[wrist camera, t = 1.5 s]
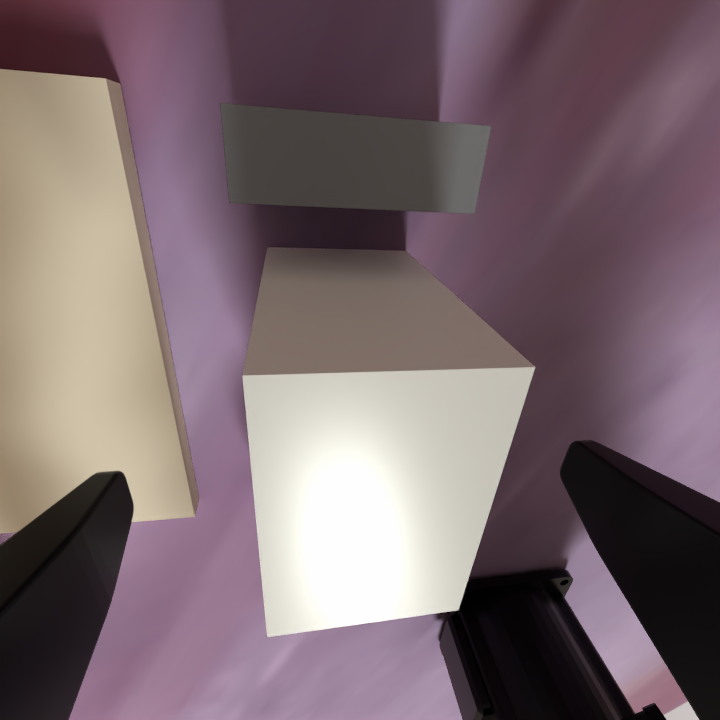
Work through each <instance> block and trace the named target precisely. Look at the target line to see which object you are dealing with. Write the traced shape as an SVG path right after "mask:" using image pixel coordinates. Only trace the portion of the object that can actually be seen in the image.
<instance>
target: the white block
mask: <svg viewBox="0 0 720 720" xmlns="http://www.w3.org/2000/svg"><path fill="white" fill-rule="evenodd" d="M534 370H535V366H534V365H533V364H531V363H530V362H529V361H528V360H527V359H526V358H525V357H524V356H523V355H521V354H520V353H519V352H518V351H517V350H516V349H515V348H514V347H513V346H511V345H510V344H509V343H508V342H507V341H506V340H505V339H504V338H502V337H501V336H500V335H499V334H498V333H497V332H496V331H495V330H494V329H492V328H491V327H490V326H489V325H488V324H487V323H486V322H485V321H484V320H482V319H481V318H480V317H479V316H478V315H477V314H476V313H475V312H474V311H472V310H471V309H470V308H469V307H468V306H467V305H466V304H465V303H464V302H462V301H461V300H460V299H459V298H458V297H457V296H456V295H455V294H454V293H452V292H451V291H450V290H449V289H448V288H447V287H446V286H445V285H444V284H442V283H441V282H440V281H439V280H438V279H437V278H436V277H435V276H434V275H432V274H431V273H430V272H429V271H428V270H427V269H426V268H425V267H424V266H422V265H421V264H420V263H419V262H418V261H417V260H416V259H415V258H414V257H412V256H411V255H410V254H409V253H408V252H407V251H397V250H358V249H319V248H280V247H267V252H266V257H265V262H264V267H263V272H262V277H261V282H260V288H259V293H258V298H257V303H256V308H255V313H254V318H253V324H252V329H251V334H250V339H249V344H248V349H247V355H246V360H245V365H244V370H243V375H242V376H243V387H244V398H245V408H246V419H247V429H248V440H249V450H250V461H251V471H252V482H253V492H254V503H255V513H256V524H257V535H258V545H259V556H260V566H261V577H262V587H263V598H264V608H265V619H266V629H267V637H272V636H279V635H287V634H294V633H301V632H308V631H315V630H322V629H329V628H336V627H343V626H350V625H358V624H365V623H372V622H379V621H386V620H393V619H400V618H407V617H414V616H421V615H429V614H436V613H443V612H450V611H457V610H459V607H460V604H461V601H462V598H463V594H464V591H465V588H466V585H467V582H468V579H469V575H470V572H471V569H472V566H473V563H474V560H475V557H476V553H477V550H478V547H479V544H480V541H481V538H482V534H483V531H484V528H485V525H486V522H487V519H488V515H489V512H490V509H491V506H492V503H493V500H494V496H495V493H496V490H497V487H498V484H499V481H500V478H501V474H502V471H503V468H504V465H505V462H506V459H507V455H508V452H509V449H510V446H511V443H512V440H513V436H514V433H515V430H516V427H517V424H518V421H519V417H520V414H521V411H522V408H523V405H524V402H525V399H526V395H527V392H528V389H529V386H530V383H531V380H532V376H533V373H534Z"/></svg>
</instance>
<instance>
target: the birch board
mask: <svg viewBox="0 0 720 720" xmlns="http://www.w3.org/2000/svg"><path fill="white" fill-rule="evenodd" d="M106 471H121V472H123V473H124V475H125V477H126V480H127V483H128V486H129V490H130V493H131V496H132V500H133V504H134V512H133V518H132V522H139V521H151V520H163V519H174V518H186V517H195V514H196V510H197V506H198V502H199V496H198V491H197V486H196V481H195V475H194V470H193V465H192V459H191V454H190V449H189V444H188V438H187V433H186V428H185V422H184V417H183V412H182V407H181V401H180V396H179V391H178V385H177V380H176V375H175V370H174V364H173V359H172V354H171V349H170V343H169V338H168V333H167V327H166V322H165V317H164V312H163V306H162V301H161V296H160V290H159V285H158V280H157V275H156V269H155V264H154V259H153V254H152V248H151V243H150V238H149V232H148V227H147V222H146V217H145V211H144V206H143V201H142V195H141V190H140V185H139V180H138V174H137V169H136V164H135V158H134V153H133V148H132V143H131V137H130V132H129V127H128V122H127V116H126V111H125V106H124V100H123V95H122V90H121V85H120V83H117V82H114V81H111V80H109V79H106V78H95V77H84V76H73V75H62V74H51V73H40V72H29V71H18V70H7V69H0V533H12V532H18V531H19V530H21V529H22V528H23V527H25V526H26V525H27V524H29V523H30V522H31V521H32V520H34V519H35V518H36V517H38V516H39V515H40V514H42V513H43V512H44V511H46V510H47V509H48V508H50V507H51V506H52V505H54V504H55V503H56V502H57V501H59V500H60V499H61V498H63V497H64V496H65V495H67V494H68V493H69V492H71V491H72V490H73V489H75V488H76V487H77V486H79V485H80V484H81V483H82V482H84V481H85V480H86V479H88V478H89V477H90V476H92V475H93V474H95V473H98V472H106Z"/></svg>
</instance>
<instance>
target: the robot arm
mask: <svg viewBox="0 0 720 720" xmlns="http://www.w3.org/2000/svg"><path fill="white" fill-rule="evenodd" d="M560 476H561V479H562V482H563V484H564V486H565V488H566V490H567V492H568V494H569V496H570V498H571V500H572V502H573V504H574V506H575V508H576V510H577V512H578V514H579V516H580V518H581V520H582V522H583V525H584V527H585V529H586V531H587V533H588V535H589V537H590V539H591V540H592V542H593V544H594V546H595V548H596V550H597V551H598V553H599V555H600V557H601V558H602V560H603V562H604V563H605V565H606V567H607V568H608V570H609V571H610V573H611V575H612V576H613V578H614V580H615V581H616V583H617V585H618V586H619V588H620V590H621V591H622V593H623V595H624V596H625V598H626V599H627V601H628V603H629V604H630V606H631V608H632V609H633V611H634V613H635V614H636V616H637V618H638V619H639V621H640V623H641V624H642V626H643V628H644V629H645V631H646V632H647V634H648V636H649V637H650V639H651V641H652V642H653V644H654V646H655V647H656V649H657V651H658V652H659V654H660V656H661V657H662V659H663V660H664V662H665V664H666V665H667V667H668V669H669V670H670V672H671V674H672V675H673V677H674V679H675V680H676V682H677V684H678V685H679V687H680V688H681V690H682V692H683V693H684V695H685V697H686V698H687V700H688V702H689V703H690V705H691V706H692V708H693V710H694V711H695V713H696V715H697V717H698V718H699V720H720V502H718V501H716V500H714V499H712V498H710V497H707V496H705V495H703V494H701V493H699V492H697V491H695V490H693V489H691V488H689V487H687V486H685V485H683V484H681V483H679V482H677V481H675V480H673V479H671V478H669V477H667V476H665V475H663V474H661V473H659V472H657V471H655V470H653V469H650V468H648V467H646V466H644V465H642V464H640V463H638V462H636V461H634V460H632V459H630V458H628V457H626V456H624V455H622V454H620V453H618V452H616V451H614V450H612V449H610V448H608V447H606V446H604V445H602V444H600V443H598V442H595V441H592V440H582V441H574V442H573V443H572V444H571V445H570V446H569V449H568V451H567V454H566V456H565V459H564V461H563V464H562V466H561V469H560ZM133 512H134V504H133V500H132V496H131V493H130V490H129V486H128V483H127V480H126V477H125V475H124V473H123V472H121V471H106V472H98V473H95V474H93V475H92V476H90V477H89V478H88V479H86V480H85V481H84V482H82V483H81V484H80V485H79V486H77V487H76V488H75V489H73V490H72V491H71V492H69V493H68V494H67V495H65V496H64V497H63V498H61V499H60V500H59V501H57V502H56V503H55V504H54V505H52V506H51V507H50V508H48V509H47V510H46V511H44V512H43V513H42V514H40V515H39V516H38V517H36V518H35V519H34V520H32V521H31V522H30V523H29V524H27V525H26V526H25V527H23V528H22V529H21V530H19V531H18V532H17V533H15V534H14V535H13V536H11V537H10V538H9V539H7V540H6V541H5V542H4V543H2V544H1V545H0V720H69V717H70V714H71V712H72V709H73V706H74V703H75V701H76V698H77V695H78V693H79V690H80V687H81V684H82V682H83V679H84V676H85V673H86V671H87V668H88V665H89V662H90V660H91V657H92V654H93V651H94V649H95V646H96V643H97V641H98V638H99V635H100V632H101V630H102V627H103V624H104V621H105V619H106V616H107V613H108V610H109V607H110V604H111V601H112V597H113V593H114V590H115V586H116V582H117V578H118V574H119V570H120V566H121V562H122V558H123V554H124V550H125V546H126V542H127V538H128V534H129V530H130V526H131V522H132V518H133ZM572 582H573V578H572V577H571V575H570V574H569V572H568V571H567V570H557V571H549V572H541V573H534V574H526V575H518V576H510V577H502V578H494V579H487V580H479V581H471V582H467V585H466V588H465V591H464V594H463V598H462V601H461V604H460V607H459V610H457V611H450V612H449V615H448V618H447V620H446V624H445V627H444V630H443V634H442V637H441V640H440V649H441V653H442V655H443V656H444V660H445V663H446V666H447V669H448V673H449V676H450V679H451V683H452V686H453V689H454V692H455V696H456V699H457V702H458V706H459V709H460V712H461V715H462V719H463V720H666V718H665V717H664V715H663V714H662V713H661V711H660V710H659V708H658V707H657V706H656V704H655V703H653V704H650V705H648V706H645V707H643V708H642V709H643V711H641V712H639V713H636V714H635V712H634V711H633V709H632V707H631V706H630V704H629V702H628V701H627V699H626V698H625V696H624V694H623V693H622V691H621V689H620V688H619V686H618V684H617V683H616V681H615V680H614V678H613V676H612V675H611V673H610V671H609V670H608V668H607V666H606V665H605V663H604V661H603V660H602V658H601V657H600V655H599V653H598V652H597V650H596V648H595V647H594V645H593V643H592V642H591V640H590V639H589V637H588V635H587V634H586V632H585V630H584V629H583V627H582V625H581V624H580V622H579V621H578V619H577V617H576V616H575V614H574V612H573V611H572V609H571V607H570V606H569V604H568V603H567V601H566V599H565V598H564V597H565V595H566V593H567V591H568V589H569V587H570V585H571V584H572Z"/></svg>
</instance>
